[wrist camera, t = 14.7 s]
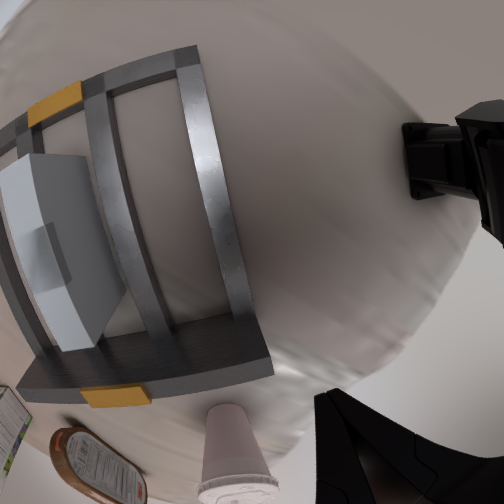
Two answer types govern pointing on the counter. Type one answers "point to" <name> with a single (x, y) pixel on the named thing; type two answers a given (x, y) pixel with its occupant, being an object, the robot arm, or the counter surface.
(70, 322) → the panel
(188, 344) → the rack
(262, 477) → the smoothie
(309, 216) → the counter surface
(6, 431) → the syrup box
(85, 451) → the tin
